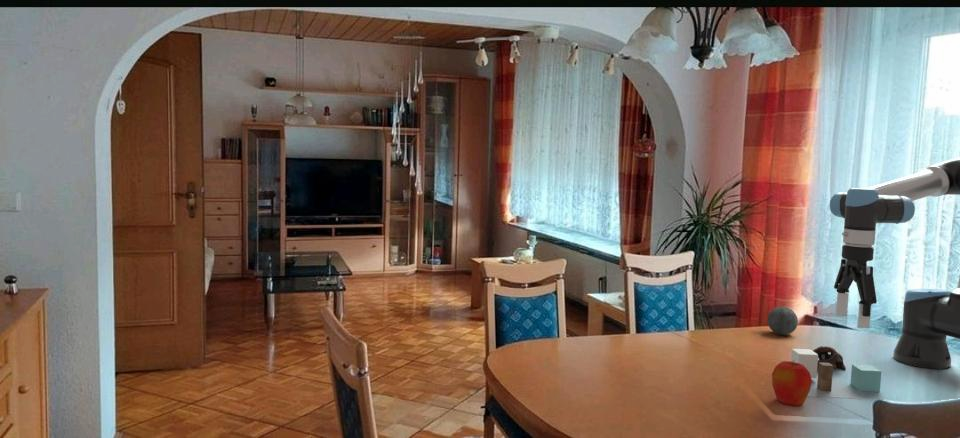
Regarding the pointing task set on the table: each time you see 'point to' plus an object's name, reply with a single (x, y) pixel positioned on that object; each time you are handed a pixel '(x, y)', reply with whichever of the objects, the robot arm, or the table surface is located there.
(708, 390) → the table surface
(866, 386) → the pale aqua cube
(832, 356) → the dark brown curved piece
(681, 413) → the table surface
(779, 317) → the decorative ball
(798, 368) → the apple
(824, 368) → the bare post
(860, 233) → the robot arm
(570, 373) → the table surface
